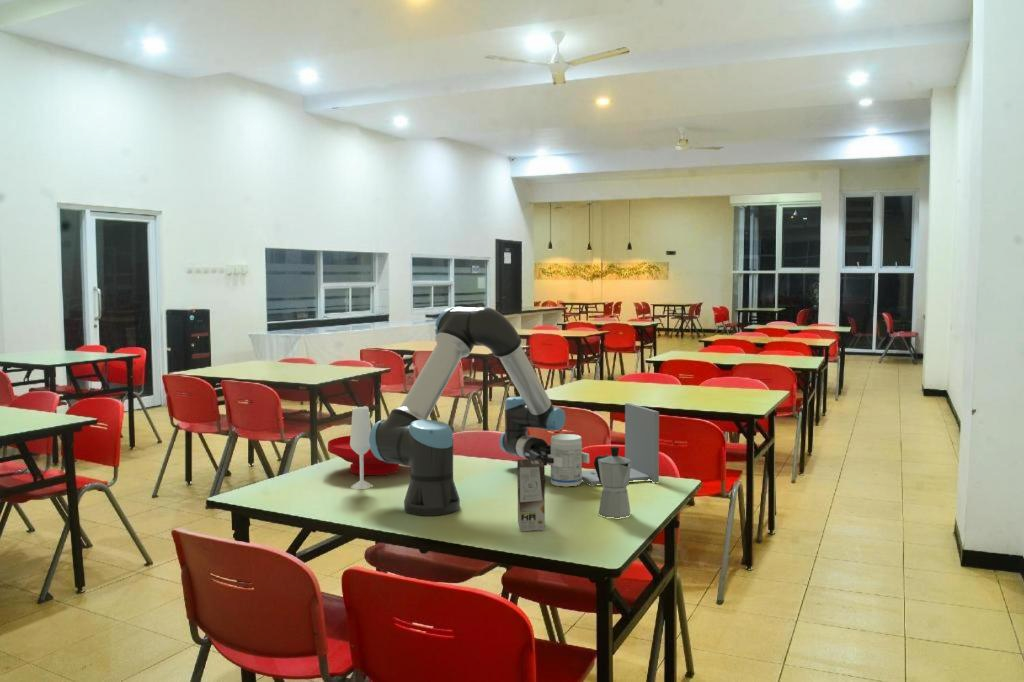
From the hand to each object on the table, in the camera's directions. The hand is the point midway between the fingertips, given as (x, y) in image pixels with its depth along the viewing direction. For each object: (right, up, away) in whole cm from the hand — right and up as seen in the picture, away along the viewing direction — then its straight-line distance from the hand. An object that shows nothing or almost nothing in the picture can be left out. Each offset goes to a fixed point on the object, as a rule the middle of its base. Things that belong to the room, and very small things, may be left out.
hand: (575, 460), depth 233 cm
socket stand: (+13, -7, +11) cm, 19 cm away
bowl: (-64, -7, +25) cm, 69 cm away
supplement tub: (-2, -8, +4) cm, 9 cm away
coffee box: (-14, -11, -38) cm, 42 cm away
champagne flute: (-65, -8, +3) cm, 65 cm away
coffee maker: (+7, -10, -28) cm, 31 cm away
